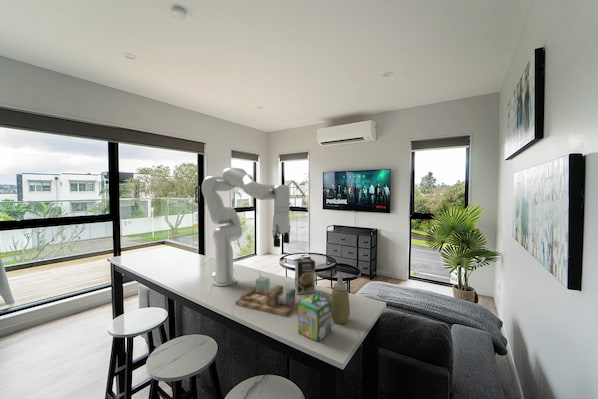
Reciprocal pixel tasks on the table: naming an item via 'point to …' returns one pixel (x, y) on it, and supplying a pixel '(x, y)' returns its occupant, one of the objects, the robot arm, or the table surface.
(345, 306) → the squeeze bottle
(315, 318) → the chalk box
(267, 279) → the spacer block
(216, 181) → the robot arm
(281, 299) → the grey rectangular box
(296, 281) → the coffee box
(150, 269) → the table surface
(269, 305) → the jig
